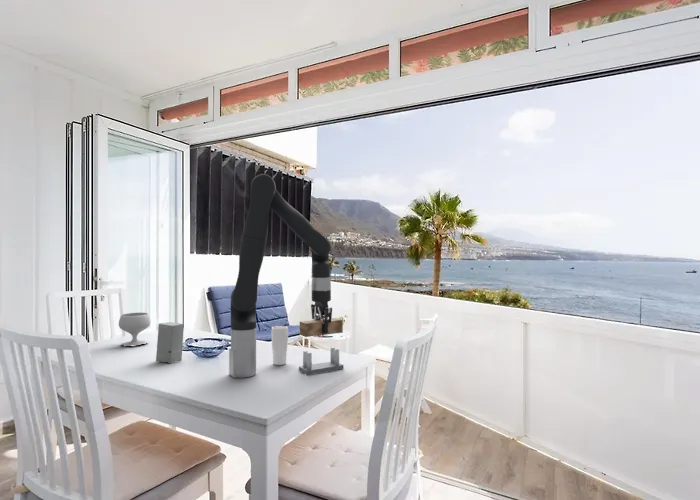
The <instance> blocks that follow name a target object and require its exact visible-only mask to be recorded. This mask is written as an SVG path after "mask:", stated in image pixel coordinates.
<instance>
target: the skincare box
mask: <svg viewBox="0 0 700 500" xmlns="http://www.w3.org/2000/svg"><path fill="white" fill-rule="evenodd" d="M157 327H158V329H157V340H156V341H157V343H156V353H155V354H156V356H155V361H156V362H157V361H161V362H160V363H165V362H168V363H167V364H173V363H176V362H175V361H177V362H179V361H178V360H180V361H182V360H183V356H182V355H183V343H184V329H185V328H184V327H185V324H184V323H179V322H173V321H168V322H160V323H158V326H157ZM172 362H173V363H172Z"/></svg>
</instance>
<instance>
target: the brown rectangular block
mask: <svg viewBox="0 0 700 500" xmlns="http://www.w3.org/2000/svg"><path fill="white" fill-rule="evenodd" d="M343 321H344V320H343V319H341V318H338V317H333V318H331V323H329V324H328V333H327V334H323V333H322V320H314V319H312V320H304V321H303V320H302V321H299V335H300V336H302V337H305V338H308V337H317V336H324V335H325V336H326V335H333V334H334V335H335V334H342V333H343V330H344V329H343V328H344V327H343V326H344V325H343V324H344V323H343Z"/></svg>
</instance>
